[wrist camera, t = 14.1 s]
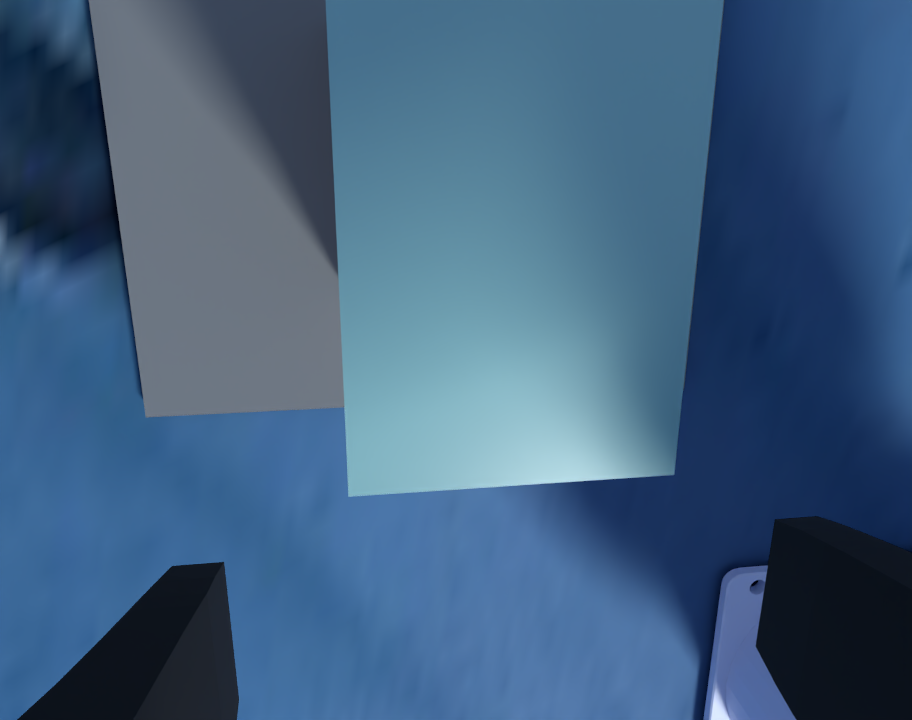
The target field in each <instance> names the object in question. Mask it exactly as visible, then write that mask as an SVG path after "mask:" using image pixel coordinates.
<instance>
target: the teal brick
mask: <svg viewBox="0 0 912 720" xmlns="http://www.w3.org/2000/svg"><path fill="white" fill-rule="evenodd" d="M723 1H724V0H326V21H327V43H328V64H329V86H330V107H331V129H332V150H333V172H334V193H335V214H336V236H337V257H338V279H339V300H340V322H341V343H342V364H343V386H344V407H345V429H346V450H347V472H348V493H349V497H350V496H365V495H380V494H395V493H411V492H426V491H441V490H456V489H471V488H486V487H501V486H516V485H531V484H546V483H561V482H576V481H591V480H606V479H621V478H636V477H651V476H666V475H674V471H675V462H676V452H677V443H678V433H679V424H680V414H681V404H682V395H683V385H684V376H685V366H686V356H687V347H688V337H689V328H690V318H691V308H692V299H693V289H694V280H695V270H696V260H697V251H698V241H699V232H700V222H701V212H702V203H703V193H704V184H705V174H706V164H707V155H708V145H709V136H710V126H711V117H712V107H713V97H714V88H715V78H716V69H717V59H718V49H719V40H720V30H721V21H722V11H723Z"/></svg>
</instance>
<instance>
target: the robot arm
mask: <svg viewBox="0 0 912 720" xmlns="http://www.w3.org/2000/svg"><path fill="white" fill-rule="evenodd" d="M756 580H759V581H758V583H757V584H756V585H754V586H752V587H750V586H751V584H752V583H753V582H754V581H756ZM238 703H239V696H238V686H237V677H236V668H235V659H234V650H233V641H232V631H231V622H230V613H229V604H228V595H227V585H226V576H225V567H224V562H219V563H206V564H193V565H180V566H172V567H171V568H170V569H169V570H168V571H167V572H166V573H165V574H164V575H163V576H162V577H161V578H160V579H159V580H158V581H157V582H156V583H155V584H154V585H153V586H152V587H151V588H150V589H149V590H148V591H147V592H146V593H145V594H144V595H143V596H142V597H141V598H140V599H139V600H138V601H137V602H136V603H135V604H134V605H133V606H132V608H131V609H130V610H129V611H128V612H127V613H126V614H125V615H124V616H123V617H122V618H121V619H120V620H119V621H118V622H117V623H116V624H115V625H114V626H113V627H112V628H111V629H110V630H109V631H108V633H107V634H106V635H105V636H104V637H103V638H102V639H101V640H100V641H99V642H98V643H97V644H96V645H95V646H94V647H93V648H92V649H91V650H90V651H89V652H88V653H87V654H86V655H85V656H84V657H83V658H82V659H81V660H80V661H79V662H78V663H77V664H76V665H75V666H74V667H73V668H72V669H71V670H70V671H69V672H68V673H67V674H66V675H65V676H64V677H63V678H62V679H61V680H60V681H59V682H58V683H57V684H56V685H55V686H54V687H52V688H51V689H50V690H49V691H48V692H47V693H46V694H45V695H44V696H43V697H42V698H40V699H39V700H38V701H37V702H36V703H35V704H34V705H33V706H32V707H31V708H29V709H28V710H27V711H26V712H25V713H24V714H23V715H22V716H21V717H20V718H19V719H17V720H237V712H238ZM703 720H912V553H911V552H909V551H906V550H904V549H902V548H899V547H897V546H895V545H892V544H890V543H887V542H885V541H883V540H880V539H878V538H875V537H873V536H870V535H868V534H865V533H863V532H861V531H858V530H855V529H853V528H850V527H848V526H845V525H842V524H839V523H836V522H833V521H830V520H827V519H824V518H821V517H817V516H814V517H801V518H788V519H775V522H774V529H773V535H772V542H771V548H770V555H769V561H768V565H765V566H754V567H742V568H736V569H732V570H731V571H729V572H728V573H727V574H726V575H725V576H724V578H723V580H722V583H721V591H720V598H719V606H718V613H717V621H716V628H715V636H714V644H713V651H712V659H711V666H710V674H709V681H708V689H707V697H706V704H705V712H704V719H703Z"/></svg>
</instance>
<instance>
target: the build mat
mask: <svg viewBox="0 0 912 720" xmlns="http://www.w3.org/2000/svg"><path fill="white" fill-rule="evenodd" d="M89 6H90V13H91V20H92V28H93V35H94V42H95V50H96V57H97V64H98V72H99V79H100V86H101V93H102V101H103V108H104V115H105V123H106V130H107V137H108V145H109V152H110V159H111V166H112V174H113V181H114V188H115V196H116V203H117V210H118V218H119V225H120V232H121V239H122V247H123V254H124V261H125V269H126V276H127V283H128V291H129V298H130V305H131V312H132V320H133V327H134V334H135V342H136V349H137V356H138V364H139V371H140V378H141V386H142V393H143V400H144V407H145V415H146V417H160V416H180V415H200V414H220V413H240V412H260V411H279V410H299V409H319V408H339V407H344V386H343V364H342V343H341V322H340V300H339V279H338V257H337V236H336V214H335V193H334V172H333V150H332V129H331V107H330V86H329V64H328V43H327V21H326V0H89ZM723 10H724V1H723ZM722 20H723V11H722ZM721 29H722V21H721ZM720 39H721V30H720ZM719 48H720V40H719ZM718 58H719V49H718ZM717 68H718V59H717ZM716 77H717V69H716ZM715 87H716V78H715ZM714 96H715V88H714ZM713 106H714V97H713ZM712 116H713V107H712ZM711 125H712V117H711ZM710 135H711V126H710ZM709 145H710V136H709ZM709 145H708V154H709ZM707 164H708V155H707ZM707 164H706V173H707ZM705 183H706V174H705ZM704 193H705V184H704ZM704 193H703V202H704ZM702 212H703V203H702ZM702 212H701V221H702ZM700 231H701V222H700ZM699 241H700V232H699ZM699 241H698V250H699ZM697 260H698V251H697ZM697 260H696V269H697ZM695 279H696V270H695ZM694 289H695V280H694ZM694 289H693V298H694ZM692 308H693V299H692ZM692 308H691V318H692ZM691 318H690V327H691ZM689 337H690V328H689ZM689 337H688V346H689ZM687 356H688V347H687ZM687 356H686V366H687ZM686 366H685V375H686ZM684 385H685V376H684ZM684 385H683V390H684Z"/></svg>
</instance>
